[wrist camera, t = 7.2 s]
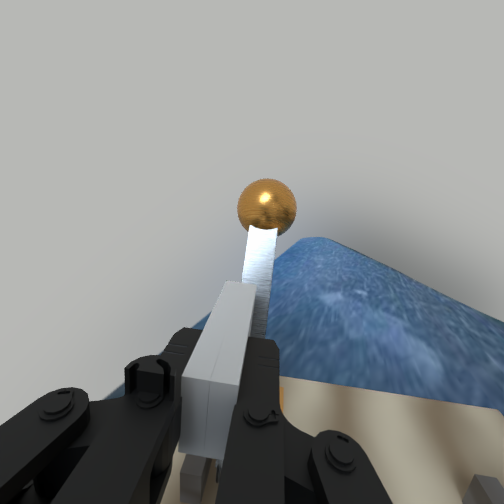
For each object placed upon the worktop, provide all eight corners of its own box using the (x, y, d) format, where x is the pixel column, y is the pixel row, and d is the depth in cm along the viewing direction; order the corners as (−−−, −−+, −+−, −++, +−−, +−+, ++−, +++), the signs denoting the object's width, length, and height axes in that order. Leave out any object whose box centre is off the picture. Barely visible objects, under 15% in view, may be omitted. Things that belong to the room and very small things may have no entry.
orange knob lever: (268, 471, 15) (296, 198, 19) (268, 516, 11) (302, 169, 15) (203, 459, 15) (244, 193, 19) (184, 498, 12) (238, 164, 16)
